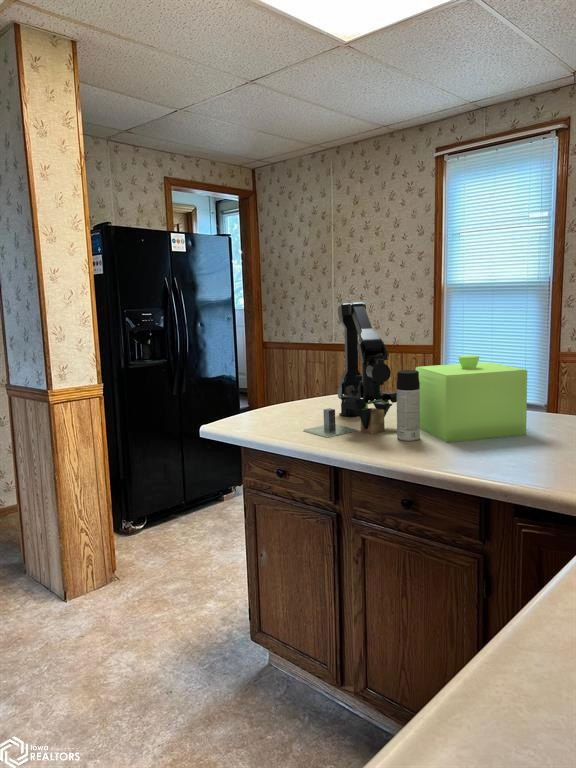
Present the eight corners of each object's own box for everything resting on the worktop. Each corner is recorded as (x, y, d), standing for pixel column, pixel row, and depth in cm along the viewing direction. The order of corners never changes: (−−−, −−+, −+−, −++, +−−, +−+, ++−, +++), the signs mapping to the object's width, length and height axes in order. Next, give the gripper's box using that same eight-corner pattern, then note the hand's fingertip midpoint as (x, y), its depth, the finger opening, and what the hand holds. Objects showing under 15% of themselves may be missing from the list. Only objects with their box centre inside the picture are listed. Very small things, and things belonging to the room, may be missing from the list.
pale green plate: (332, 424, 192) (331, 404, 191) (356, 430, 182) (356, 409, 181) (303, 431, 185) (302, 409, 184) (327, 437, 175) (326, 415, 174)
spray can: (421, 436, 172) (420, 369, 169) (418, 442, 166) (418, 373, 163) (398, 435, 174) (397, 369, 171) (395, 441, 168) (394, 372, 165)
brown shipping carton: (372, 428, 184) (372, 407, 183) (384, 431, 180) (384, 409, 179) (360, 431, 181) (360, 410, 180) (372, 434, 177) (372, 412, 176)
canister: (446, 442, 164) (445, 362, 161) (416, 426, 185) (415, 354, 181) (526, 435, 169) (527, 356, 165) (488, 420, 189) (488, 350, 186)
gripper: (374, 372, 190) (375, 418, 192) (331, 379, 179) (332, 428, 182) (399, 375, 181) (400, 424, 183) (355, 382, 170) (357, 434, 173)
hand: (372, 427), depth 181 cm, fingers closed on brown shipping carton, 5 cm apart
